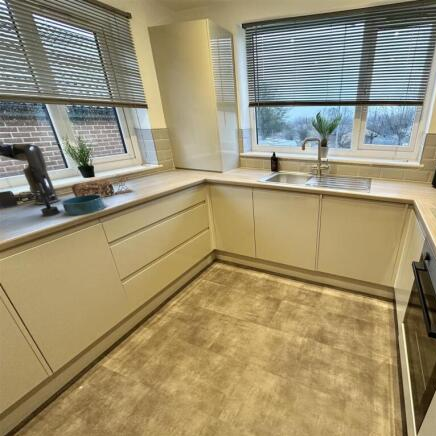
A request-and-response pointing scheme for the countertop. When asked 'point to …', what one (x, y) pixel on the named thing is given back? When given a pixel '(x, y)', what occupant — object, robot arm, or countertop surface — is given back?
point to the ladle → (47, 204)
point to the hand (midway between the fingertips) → (50, 192)
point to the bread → (93, 188)
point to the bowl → (83, 204)
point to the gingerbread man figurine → (121, 185)
